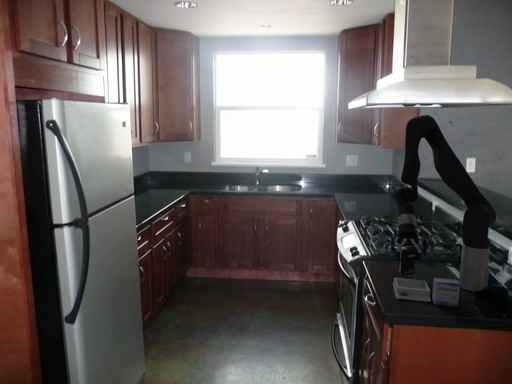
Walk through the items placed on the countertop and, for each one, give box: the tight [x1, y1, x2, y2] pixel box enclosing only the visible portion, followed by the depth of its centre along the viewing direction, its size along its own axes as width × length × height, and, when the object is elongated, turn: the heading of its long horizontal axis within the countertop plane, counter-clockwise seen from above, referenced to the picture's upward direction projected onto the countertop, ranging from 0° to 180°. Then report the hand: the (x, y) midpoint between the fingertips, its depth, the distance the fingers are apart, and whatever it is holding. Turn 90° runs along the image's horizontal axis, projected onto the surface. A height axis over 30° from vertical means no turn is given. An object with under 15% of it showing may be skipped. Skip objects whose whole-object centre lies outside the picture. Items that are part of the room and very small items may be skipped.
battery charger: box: [398, 246, 418, 276], centre depth 167 cm, size 7×4×11 cm, turn 110°
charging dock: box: [392, 277, 432, 302], centre depth 156 cm, size 12×13×4 cm
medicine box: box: [431, 277, 461, 307], centre depth 147 cm, size 8×4×9 cm, turn 80°
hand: (409, 262), depth 165 cm, fingers closed on battery charger, 7 cm apart
